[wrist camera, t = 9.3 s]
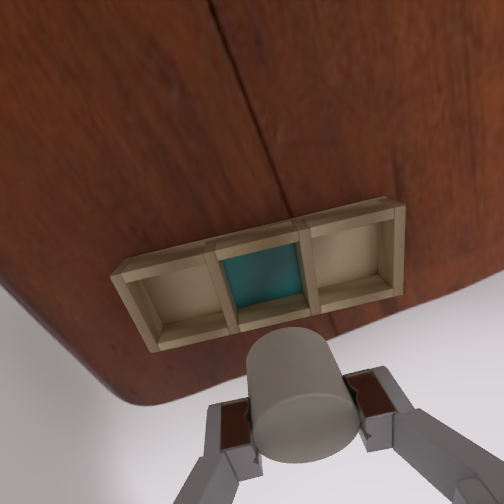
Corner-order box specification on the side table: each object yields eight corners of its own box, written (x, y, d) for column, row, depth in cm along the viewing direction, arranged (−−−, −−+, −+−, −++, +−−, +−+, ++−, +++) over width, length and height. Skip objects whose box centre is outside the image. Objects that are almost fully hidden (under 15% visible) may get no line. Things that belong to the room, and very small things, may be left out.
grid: (159, 330, 20) (150, 353, 18) (123, 258, 17) (108, 276, 15) (384, 277, 20) (403, 294, 18) (383, 195, 17) (406, 204, 15)
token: (255, 395, 12) (263, 473, 9) (237, 337, 10) (239, 410, 8) (333, 378, 12) (363, 451, 9) (325, 317, 10) (359, 383, 8)
